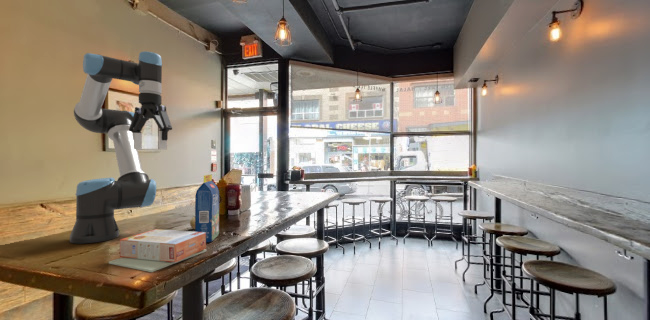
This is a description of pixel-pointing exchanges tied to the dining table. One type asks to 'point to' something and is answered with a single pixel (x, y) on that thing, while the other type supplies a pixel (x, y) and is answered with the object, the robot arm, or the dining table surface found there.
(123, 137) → the robot arm
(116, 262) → the mat
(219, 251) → the dining table surface
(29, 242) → the dining table surface
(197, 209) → the blue food package
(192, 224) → the onion
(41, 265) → the dining table surface
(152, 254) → the cracker box
